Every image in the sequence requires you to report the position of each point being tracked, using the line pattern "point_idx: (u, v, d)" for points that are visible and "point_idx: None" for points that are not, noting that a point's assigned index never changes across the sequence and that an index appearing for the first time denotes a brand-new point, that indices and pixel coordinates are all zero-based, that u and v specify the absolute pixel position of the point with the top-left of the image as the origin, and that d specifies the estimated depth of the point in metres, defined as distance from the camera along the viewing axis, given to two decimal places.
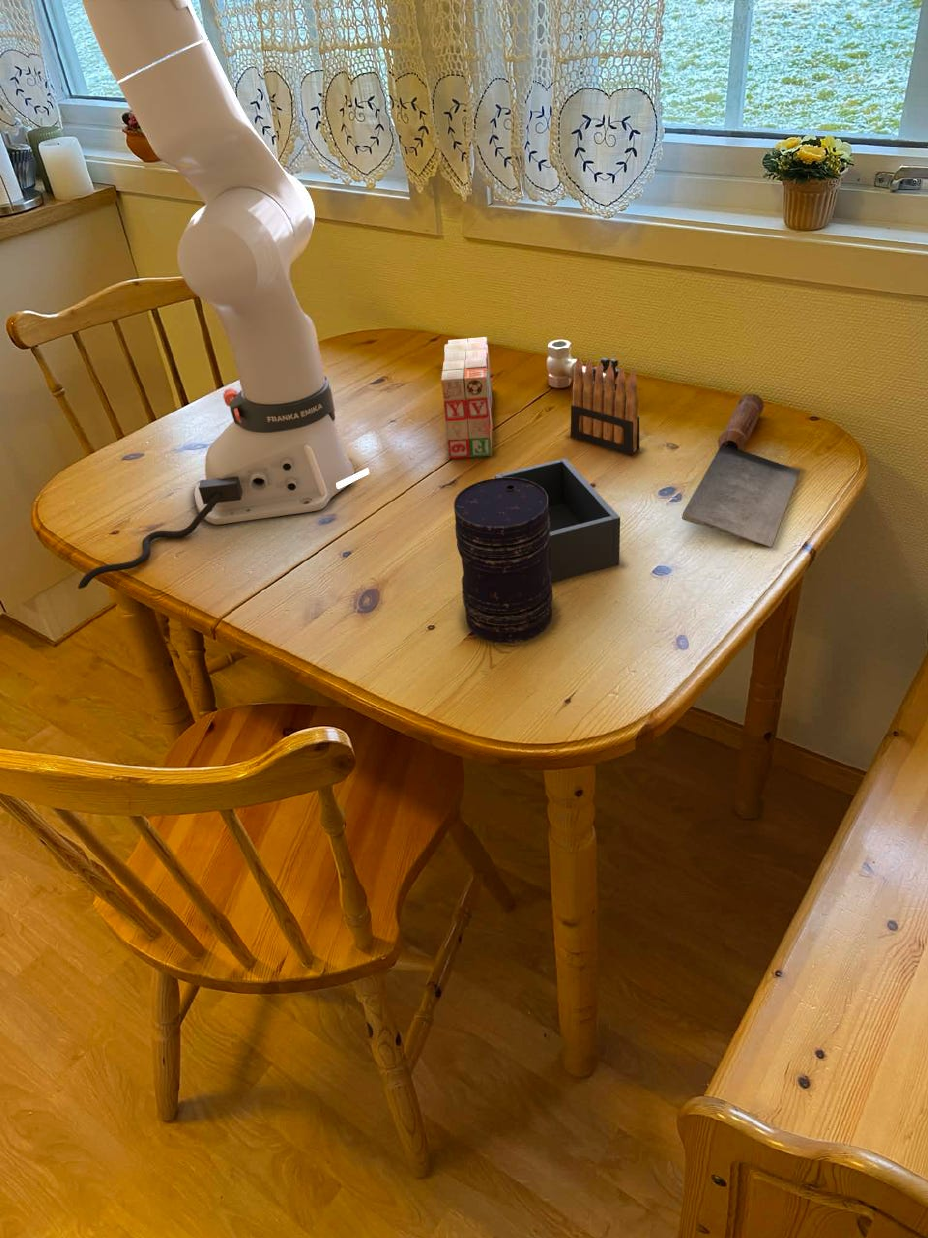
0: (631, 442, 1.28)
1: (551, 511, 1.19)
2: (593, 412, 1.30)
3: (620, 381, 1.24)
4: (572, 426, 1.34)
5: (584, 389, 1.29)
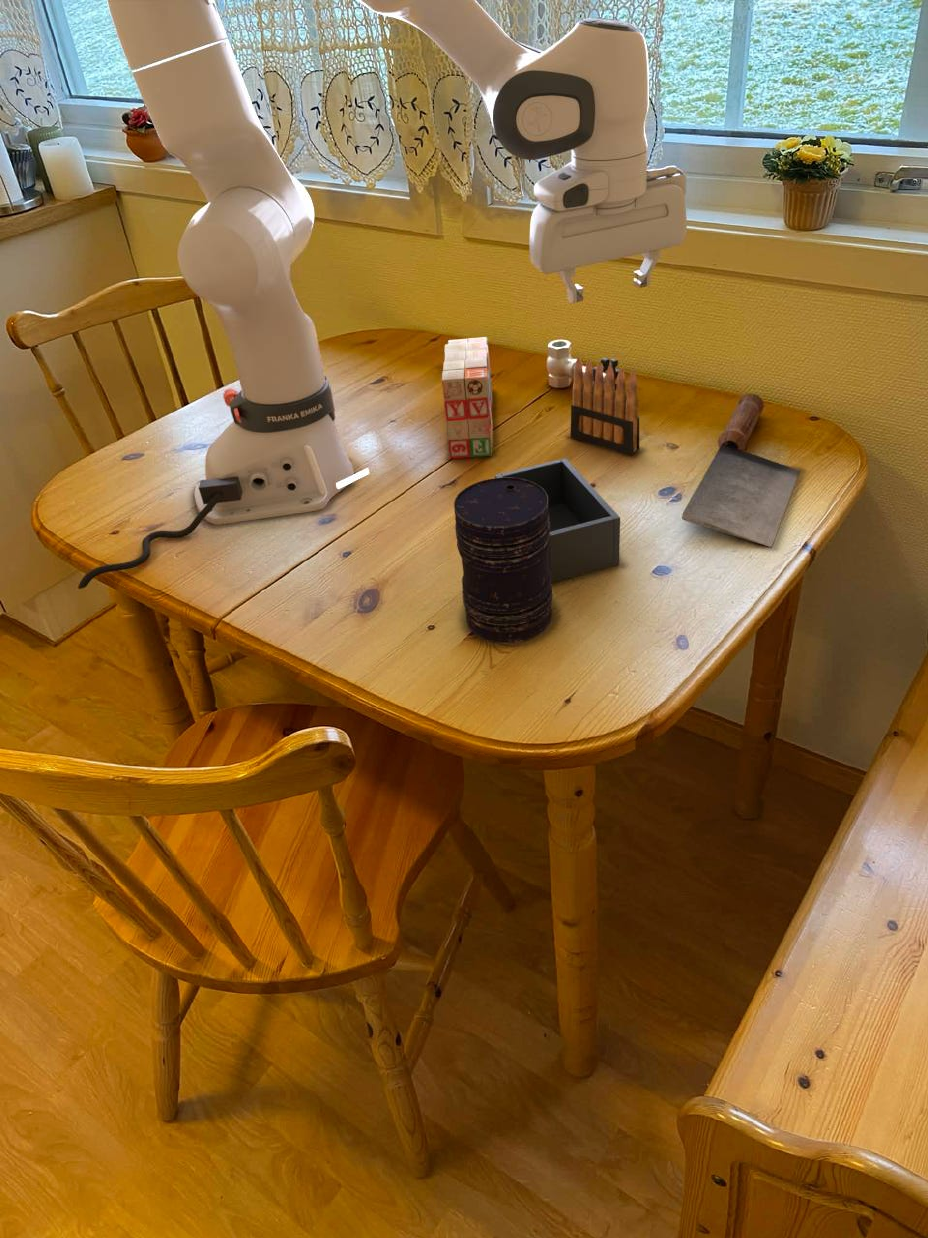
0: (631, 442, 1.28)
1: (551, 511, 1.19)
2: (593, 412, 1.30)
3: (620, 381, 1.24)
4: (572, 426, 1.34)
5: (584, 389, 1.29)
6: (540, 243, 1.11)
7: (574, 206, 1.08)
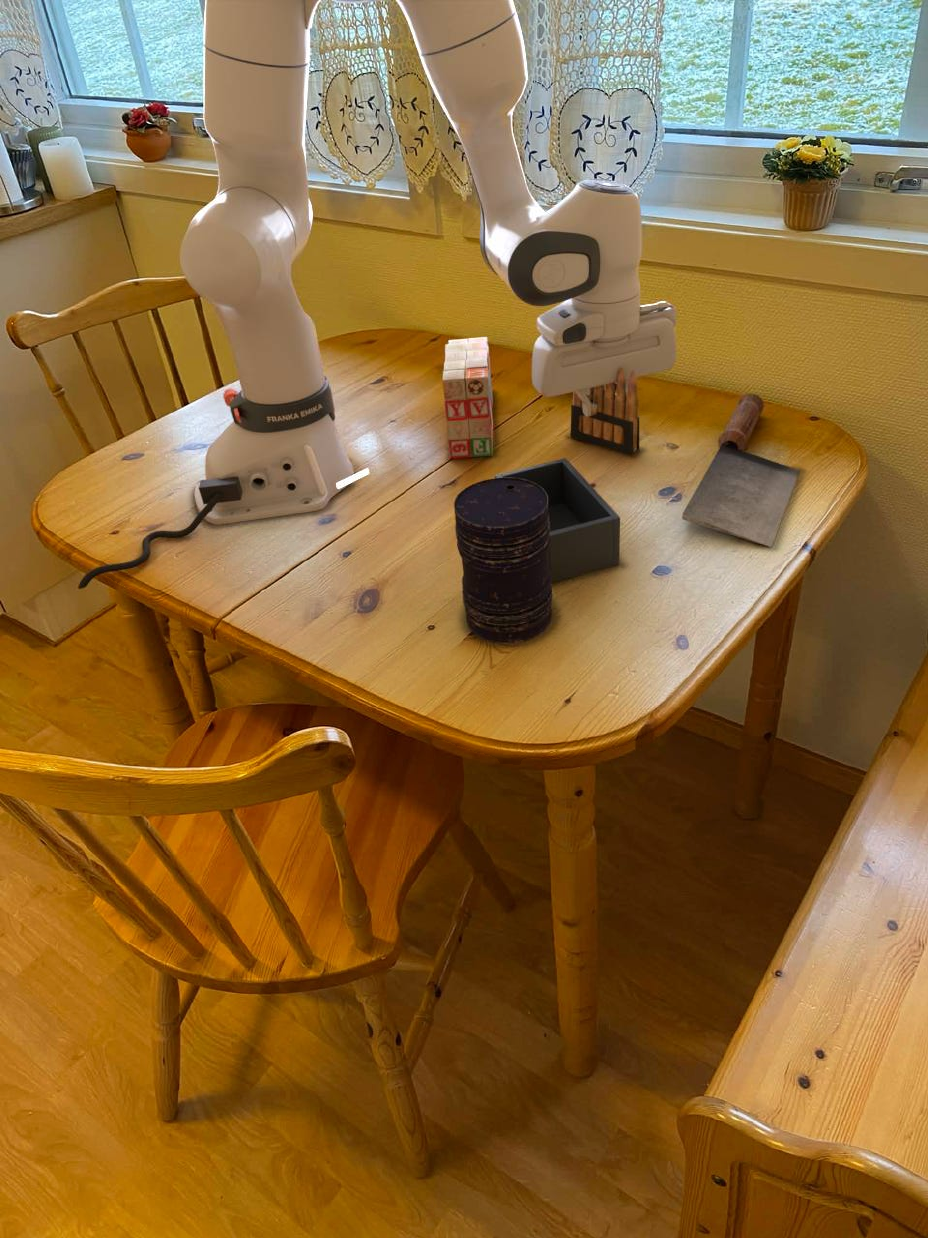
0: (631, 442, 1.28)
1: (551, 511, 1.19)
2: None
3: (620, 381, 1.24)
4: (572, 426, 1.34)
5: None
6: (541, 373, 1.21)
7: (573, 342, 1.18)
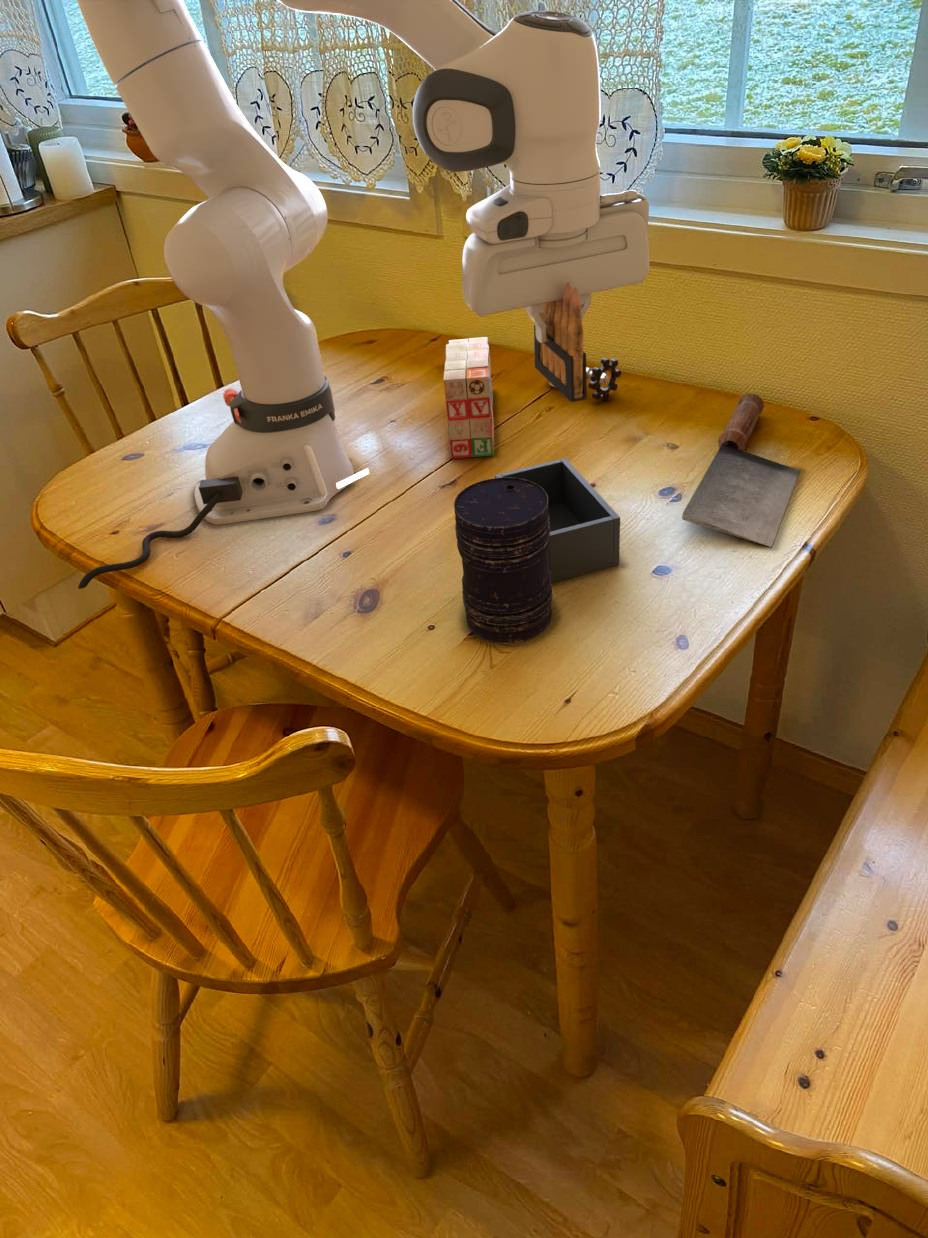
0: (570, 384, 0.99)
1: (551, 511, 1.19)
2: None
3: (565, 299, 0.96)
4: (535, 353, 1.07)
5: None
6: (472, 281, 0.93)
7: (511, 238, 0.90)
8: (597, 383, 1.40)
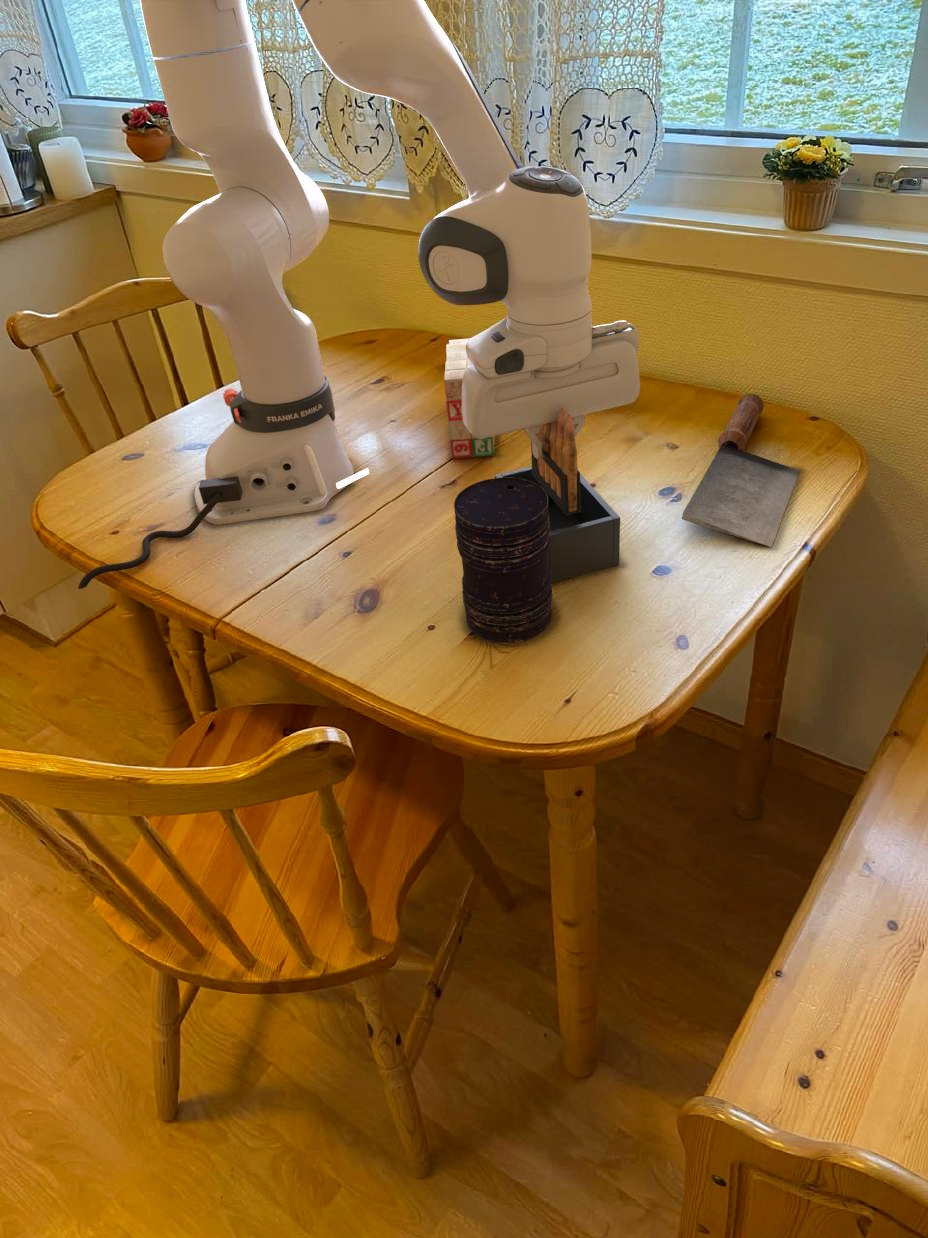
0: (565, 499, 1.04)
1: (551, 511, 1.19)
2: None
3: (559, 423, 1.01)
4: (532, 462, 1.12)
5: None
6: (471, 409, 0.98)
7: (508, 372, 0.95)
8: None
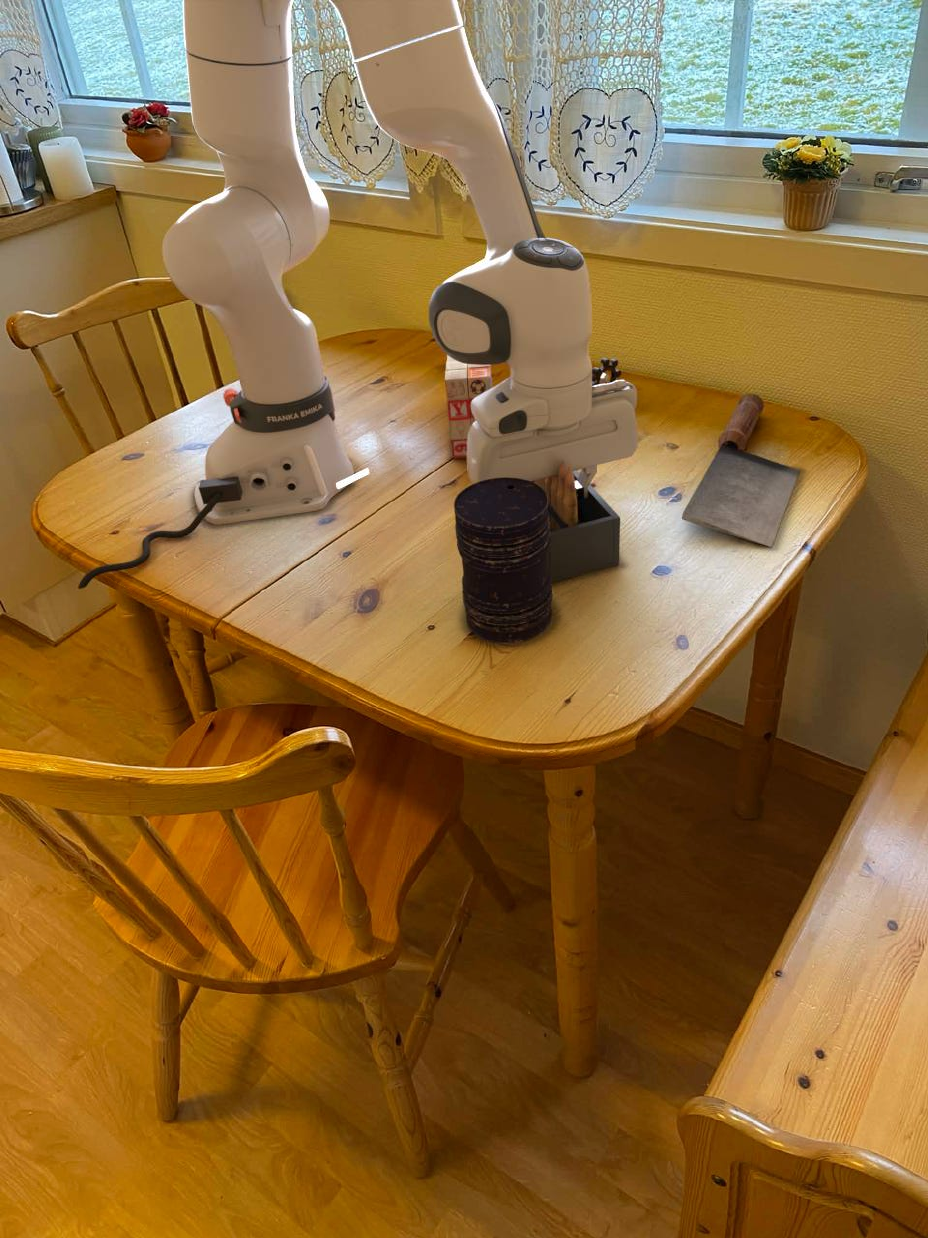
0: None
1: None
2: None
3: (560, 475, 1.05)
4: None
5: None
6: (476, 465, 1.02)
7: (511, 432, 0.99)
8: (597, 383, 1.40)
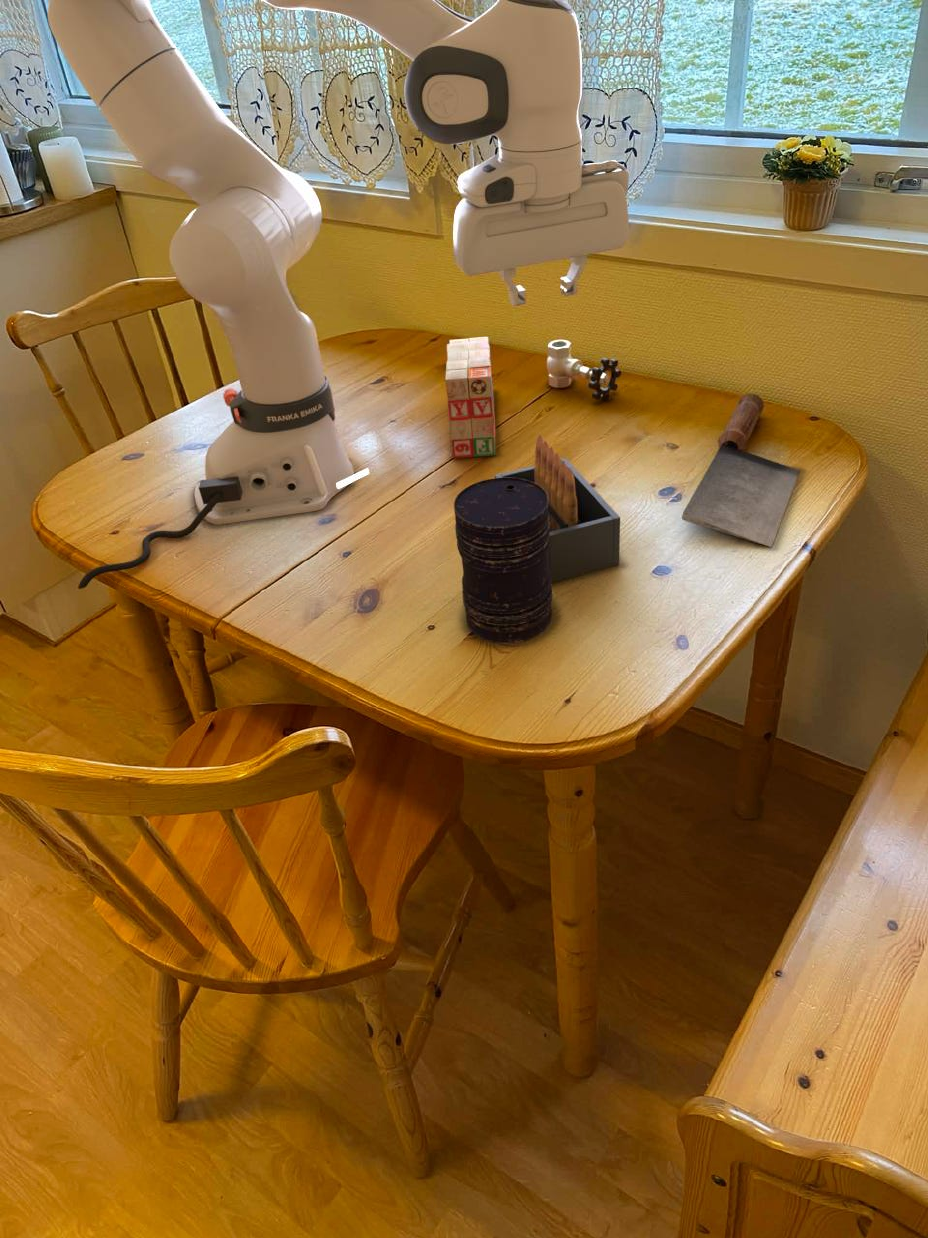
0: None
1: None
2: None
3: (560, 475, 1.05)
4: None
5: (540, 472, 1.11)
6: (462, 242, 1.00)
7: (498, 202, 0.97)
8: (597, 383, 1.40)
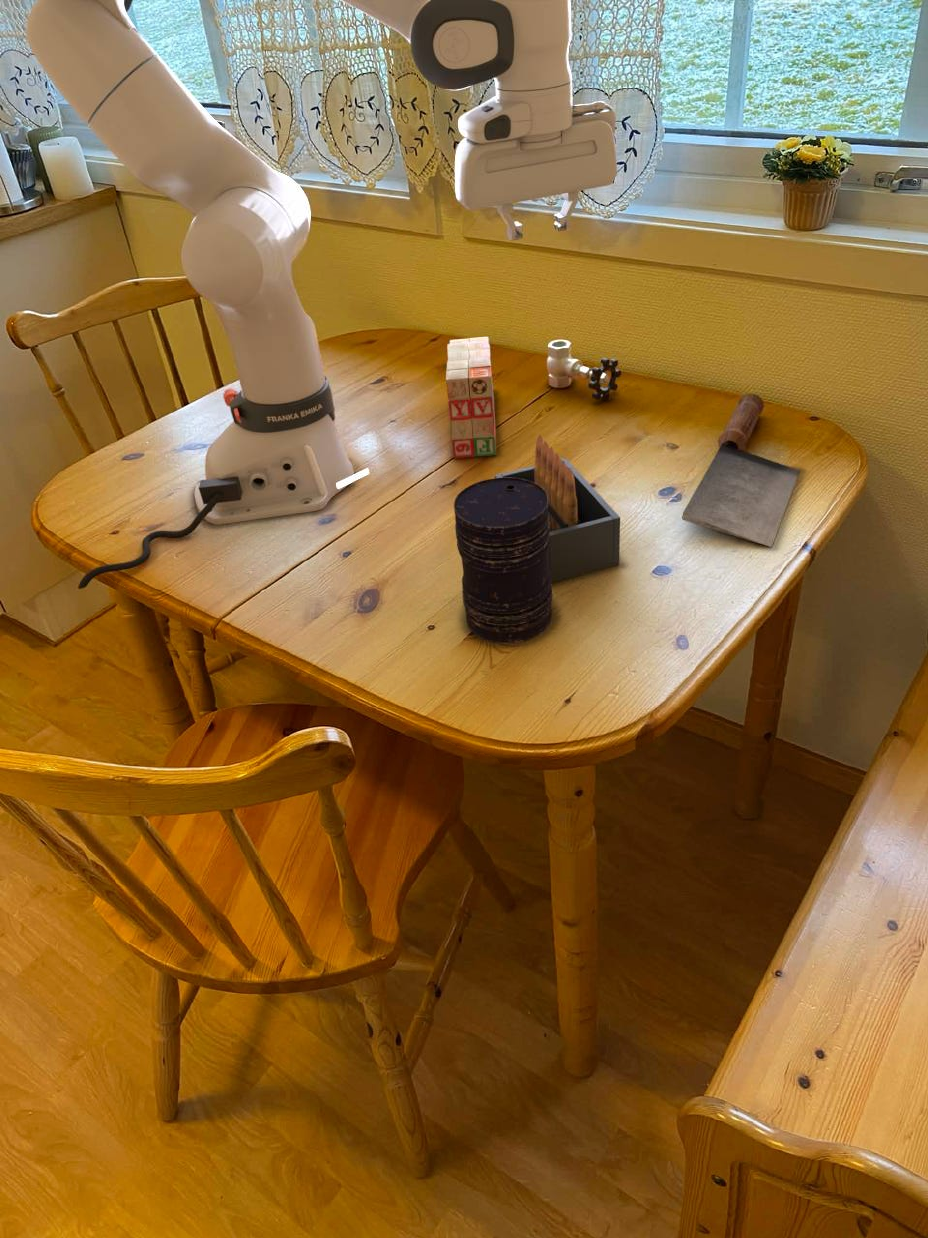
0: None
1: None
2: None
3: (560, 475, 1.05)
4: None
5: (540, 472, 1.11)
6: (464, 178, 1.09)
7: (496, 138, 1.06)
8: (597, 383, 1.40)
